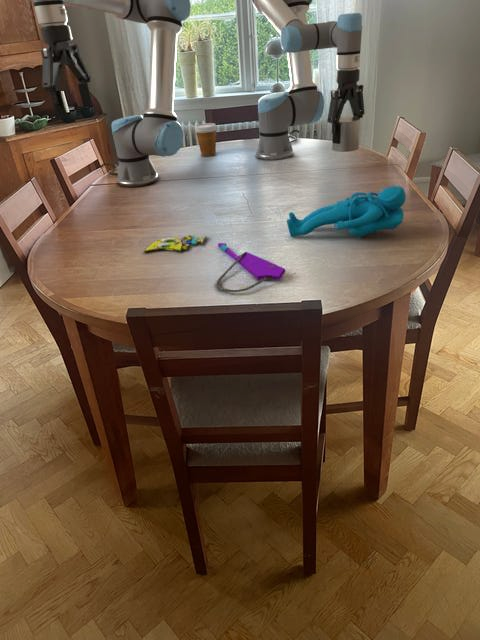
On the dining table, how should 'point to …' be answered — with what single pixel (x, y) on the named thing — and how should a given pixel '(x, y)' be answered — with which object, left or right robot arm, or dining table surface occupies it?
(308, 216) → the toy
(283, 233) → the dining table surface
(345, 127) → the canister
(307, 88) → the right robot arm
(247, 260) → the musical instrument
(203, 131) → the disposable coffee cup
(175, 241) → the toy
